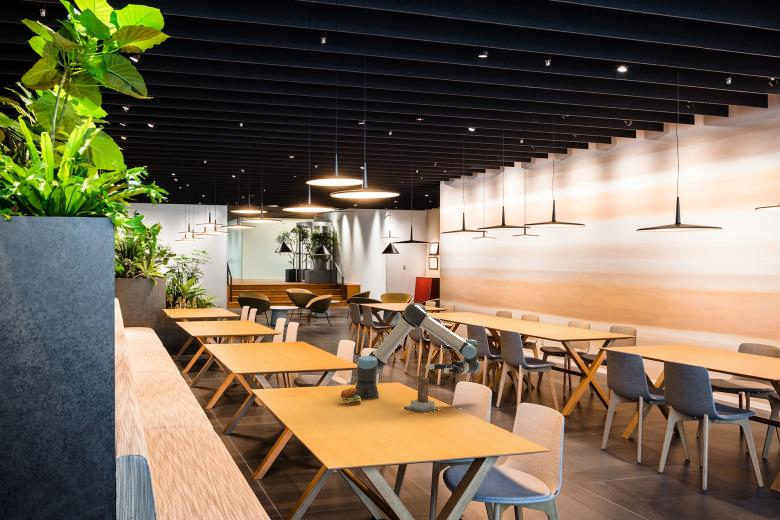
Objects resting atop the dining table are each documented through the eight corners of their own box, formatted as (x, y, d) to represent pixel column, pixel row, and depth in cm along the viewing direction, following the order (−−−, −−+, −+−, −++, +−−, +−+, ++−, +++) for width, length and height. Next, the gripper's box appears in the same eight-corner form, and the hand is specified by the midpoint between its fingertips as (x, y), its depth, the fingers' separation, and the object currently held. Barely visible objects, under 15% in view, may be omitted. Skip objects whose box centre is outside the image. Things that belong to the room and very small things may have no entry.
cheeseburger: (361, 405, 363) (357, 387, 363) (342, 409, 363) (338, 391, 363) (362, 402, 373) (358, 384, 373) (343, 405, 373) (340, 388, 374)
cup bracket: (404, 408, 362) (404, 400, 362) (421, 405, 372) (421, 397, 372) (423, 413, 352) (423, 404, 352) (440, 410, 362) (440, 401, 362)
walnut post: (417, 407, 362) (418, 377, 362) (422, 406, 365) (423, 377, 365) (422, 408, 359) (423, 378, 359) (427, 407, 362) (428, 378, 362)
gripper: (476, 377, 378) (451, 379, 363) (442, 370, 395) (418, 372, 381) (476, 363, 378) (452, 365, 363) (443, 357, 396) (419, 359, 381)
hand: (435, 369), depth 372 cm, fingers open, 13 cm apart
